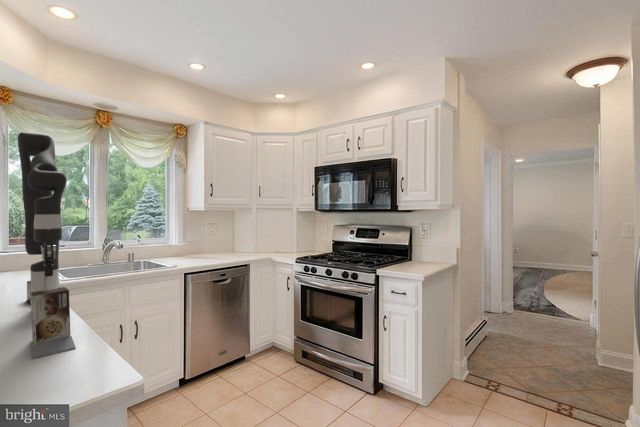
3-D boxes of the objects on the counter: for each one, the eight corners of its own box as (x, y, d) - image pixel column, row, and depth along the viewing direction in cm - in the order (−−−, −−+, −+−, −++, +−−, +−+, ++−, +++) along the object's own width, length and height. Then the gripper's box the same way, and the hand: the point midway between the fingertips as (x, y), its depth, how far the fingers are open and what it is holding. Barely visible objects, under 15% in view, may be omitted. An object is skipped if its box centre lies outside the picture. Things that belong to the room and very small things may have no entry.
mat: (31, 346, 100) (31, 345, 100) (71, 337, 107) (71, 336, 107) (32, 359, 92) (32, 357, 92) (75, 348, 98) (75, 347, 98)
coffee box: (65, 331, 112) (65, 286, 112) (70, 336, 108) (70, 289, 108) (31, 340, 105) (30, 291, 105) (35, 345, 101) (34, 294, 101)
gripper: (33, 227, 115) (34, 275, 115) (34, 228, 105) (34, 280, 105) (60, 226, 120) (60, 272, 120) (63, 227, 110) (64, 277, 110)
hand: (48, 276), depth 113 cm, fingers closed
